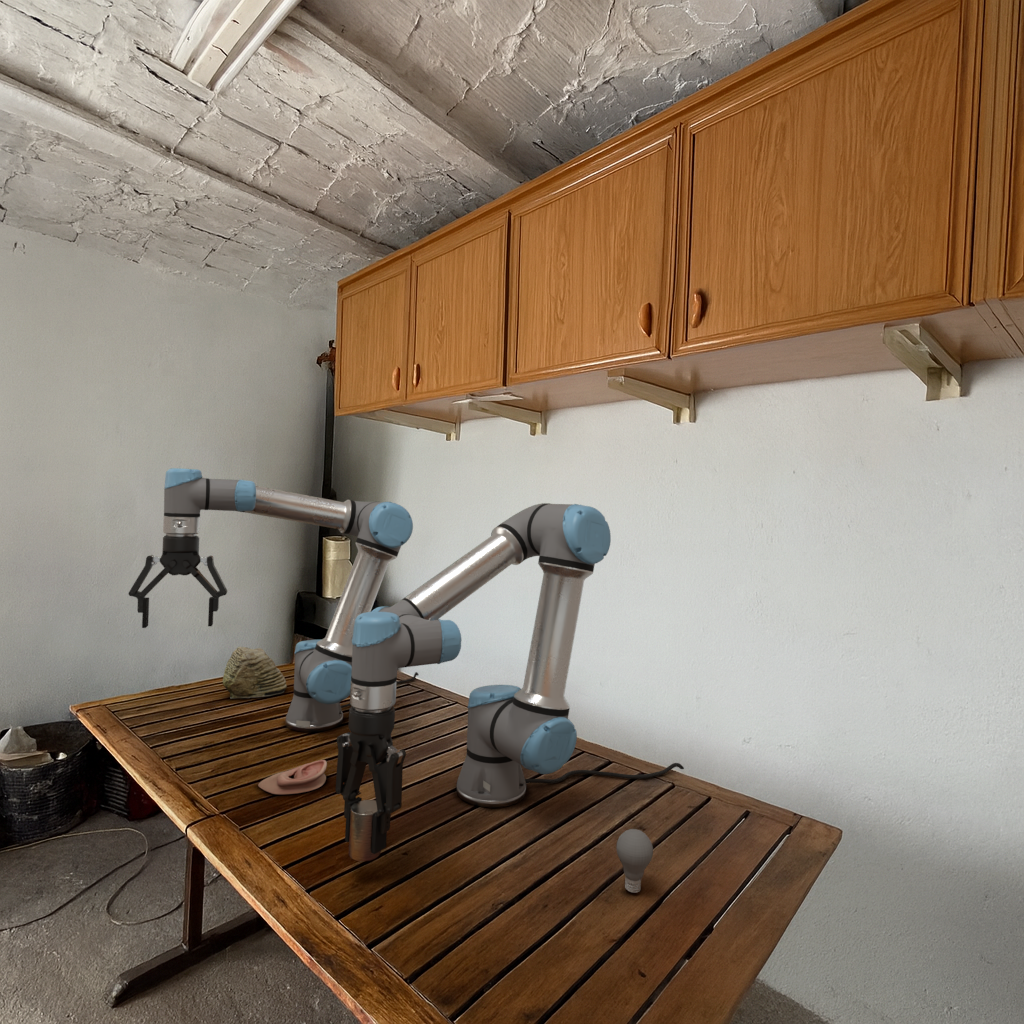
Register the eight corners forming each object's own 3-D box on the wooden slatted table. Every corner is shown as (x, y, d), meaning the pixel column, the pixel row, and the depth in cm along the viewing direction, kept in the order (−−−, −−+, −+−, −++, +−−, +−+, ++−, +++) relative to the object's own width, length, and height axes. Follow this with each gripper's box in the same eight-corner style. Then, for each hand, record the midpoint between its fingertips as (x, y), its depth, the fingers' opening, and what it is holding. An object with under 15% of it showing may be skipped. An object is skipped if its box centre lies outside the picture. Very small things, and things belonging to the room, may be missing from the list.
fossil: (218, 695, 195) (220, 647, 195) (278, 685, 208) (279, 640, 207) (228, 703, 189) (230, 653, 188) (289, 692, 201) (290, 645, 201)
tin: (359, 865, 102) (362, 818, 102) (342, 851, 106) (344, 806, 106) (387, 853, 106) (389, 807, 106) (369, 840, 110) (371, 796, 110)
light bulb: (610, 879, 108) (613, 822, 108) (644, 879, 109) (647, 822, 109) (619, 902, 102) (622, 840, 102) (655, 901, 103) (658, 840, 103)
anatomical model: (250, 772, 134) (280, 751, 146) (249, 790, 135) (280, 768, 146) (307, 780, 132) (333, 759, 143) (306, 799, 132) (333, 776, 143)
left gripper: (115, 534, 139) (112, 630, 140) (238, 537, 148) (235, 627, 148) (123, 532, 146) (120, 624, 147) (240, 535, 155) (237, 621, 155)
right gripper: (316, 700, 107) (309, 836, 108) (399, 724, 98) (391, 873, 98) (349, 690, 114) (342, 818, 114) (429, 712, 104) (422, 852, 105)
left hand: (178, 626), depth 147 cm, fingers open, 13 cm apart
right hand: (365, 843), depth 106 cm, fingers closed on tin, 5 cm apart
